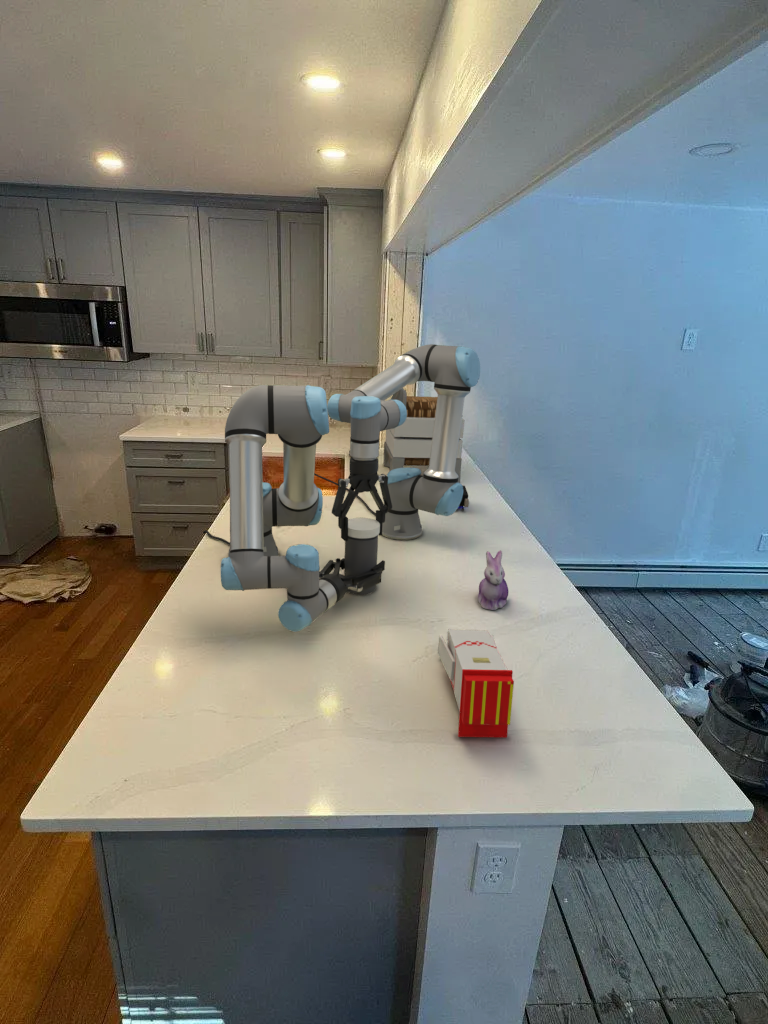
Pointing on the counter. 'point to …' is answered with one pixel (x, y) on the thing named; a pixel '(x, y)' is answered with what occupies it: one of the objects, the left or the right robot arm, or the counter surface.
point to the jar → (360, 558)
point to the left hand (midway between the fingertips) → (368, 561)
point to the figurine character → (464, 499)
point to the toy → (478, 682)
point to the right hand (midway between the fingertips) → (361, 536)
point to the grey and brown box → (415, 434)
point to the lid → (363, 528)
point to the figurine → (493, 584)
